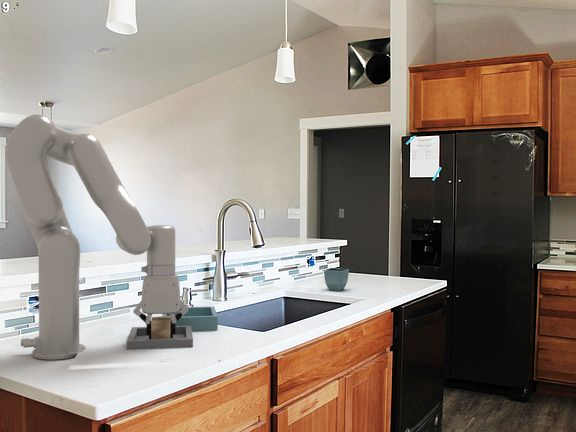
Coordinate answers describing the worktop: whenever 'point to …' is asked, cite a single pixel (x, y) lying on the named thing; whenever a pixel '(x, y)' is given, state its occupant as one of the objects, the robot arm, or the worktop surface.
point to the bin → (142, 340)
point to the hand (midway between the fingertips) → (161, 336)
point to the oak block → (160, 327)
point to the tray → (198, 318)
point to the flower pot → (336, 278)
